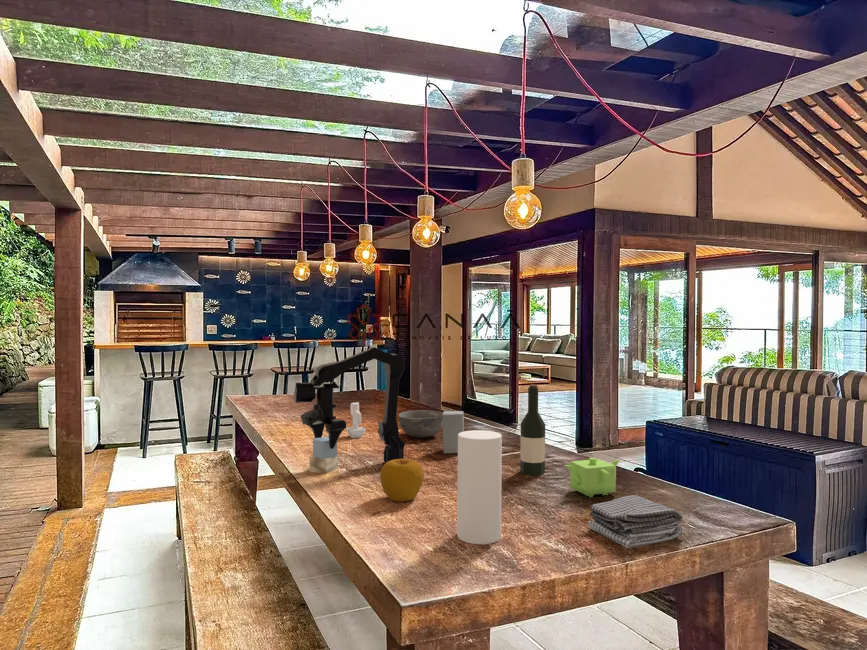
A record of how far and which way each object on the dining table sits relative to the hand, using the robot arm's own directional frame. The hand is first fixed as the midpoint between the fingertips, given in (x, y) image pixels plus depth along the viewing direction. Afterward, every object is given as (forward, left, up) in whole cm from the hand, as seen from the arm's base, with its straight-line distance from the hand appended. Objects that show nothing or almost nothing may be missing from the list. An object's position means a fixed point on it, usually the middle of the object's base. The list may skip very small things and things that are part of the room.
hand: (324, 446), depth 205 cm
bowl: (0, -65, -8) cm, 66 cm away
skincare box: (-26, -46, -8) cm, 54 cm away
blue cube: (0, 0, -3) cm, 3 cm away
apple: (-40, +13, -8) cm, 43 cm away
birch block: (0, 0, -8) cm, 8 cm away
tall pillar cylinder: (-72, +28, -8) cm, 78 cm away
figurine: (+24, -49, -8) cm, 55 cm away
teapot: (-87, -21, -8) cm, 90 cm away
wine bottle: (-63, -34, -8) cm, 72 cm away
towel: (-104, +6, -9) cm, 105 cm away
